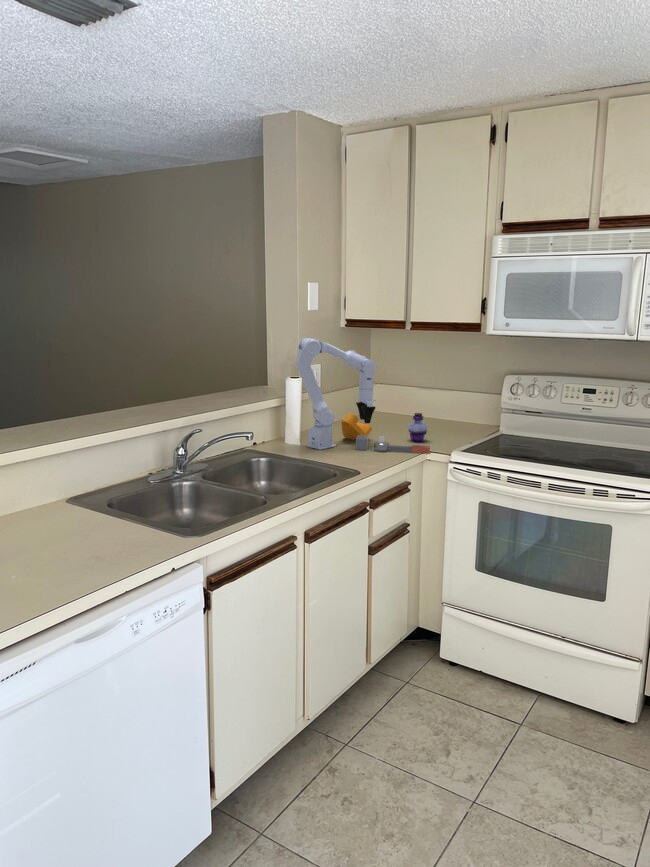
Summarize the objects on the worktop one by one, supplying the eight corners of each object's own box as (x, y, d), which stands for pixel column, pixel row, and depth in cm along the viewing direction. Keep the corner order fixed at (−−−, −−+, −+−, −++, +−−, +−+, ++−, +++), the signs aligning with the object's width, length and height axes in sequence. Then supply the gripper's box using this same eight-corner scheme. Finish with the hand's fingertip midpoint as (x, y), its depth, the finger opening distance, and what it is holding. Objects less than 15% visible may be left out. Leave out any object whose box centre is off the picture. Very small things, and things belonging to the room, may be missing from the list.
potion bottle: (431, 441, 281) (433, 413, 279) (418, 444, 276) (419, 415, 273) (416, 437, 288) (417, 410, 285) (402, 440, 282) (403, 412, 279)
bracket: (373, 429, 282) (363, 410, 274) (365, 441, 279) (355, 423, 271) (353, 425, 289) (342, 406, 281) (345, 438, 285) (334, 419, 278)
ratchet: (373, 451, 262) (373, 438, 261) (374, 448, 268) (374, 434, 267) (429, 454, 259) (430, 440, 258) (429, 450, 265) (430, 437, 264)
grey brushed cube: (355, 449, 265) (355, 437, 264) (356, 447, 269) (357, 435, 268) (366, 450, 264) (366, 437, 263) (367, 447, 269) (367, 435, 268)
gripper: (380, 391, 264) (379, 424, 267) (371, 385, 278) (370, 417, 281) (363, 391, 263) (361, 424, 265) (354, 385, 277) (353, 418, 279)
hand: (365, 421), depth 273 cm, fingers open, 7 cm apart
